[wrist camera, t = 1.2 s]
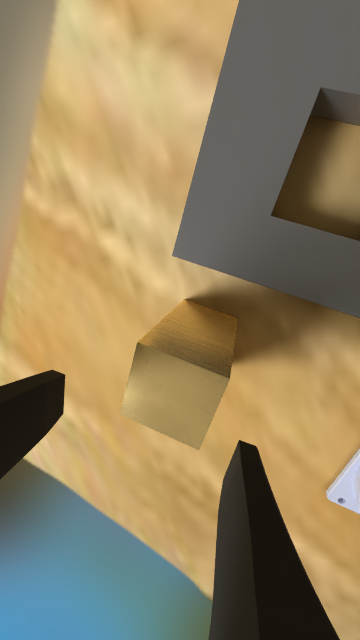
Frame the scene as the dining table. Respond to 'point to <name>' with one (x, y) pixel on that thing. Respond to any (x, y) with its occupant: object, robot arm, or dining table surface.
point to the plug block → (181, 372)
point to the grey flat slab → (275, 149)
